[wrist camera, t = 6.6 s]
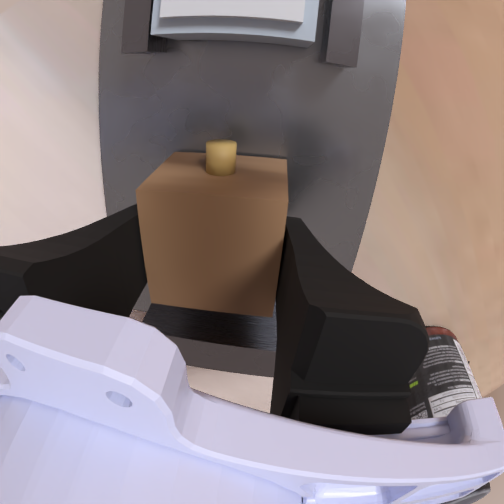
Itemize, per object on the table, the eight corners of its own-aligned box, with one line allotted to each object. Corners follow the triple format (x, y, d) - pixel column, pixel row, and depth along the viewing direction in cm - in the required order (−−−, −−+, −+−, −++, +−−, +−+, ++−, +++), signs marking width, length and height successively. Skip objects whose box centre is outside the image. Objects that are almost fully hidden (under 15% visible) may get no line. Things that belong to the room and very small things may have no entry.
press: (127, 298, 18) (101, 346, 15) (122, -64, 8) (76, -90, 4) (328, 326, 18) (334, 382, 15) (402, -51, 7) (439, -81, 4)
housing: (178, 245, 15) (151, 302, 12) (174, 128, 12) (132, 158, 9) (275, 255, 15) (272, 317, 11) (289, 135, 12) (292, 167, 8)
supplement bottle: (430, 379, 21) (461, 511, 11) (363, 377, 21) (379, 529, 11) (470, 324, 17) (528, 473, 8) (398, 317, 17) (444, 501, 8)
